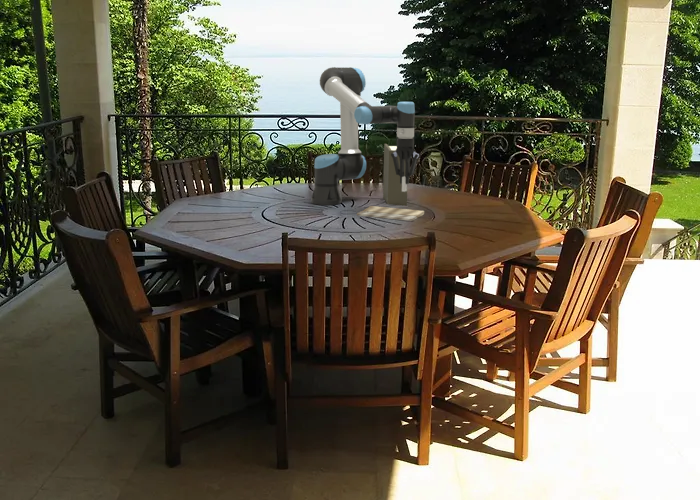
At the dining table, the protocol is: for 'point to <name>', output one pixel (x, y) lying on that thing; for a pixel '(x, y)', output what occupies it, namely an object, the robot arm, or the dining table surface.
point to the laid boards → (387, 215)
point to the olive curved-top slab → (392, 179)
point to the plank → (395, 211)
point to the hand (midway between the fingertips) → (404, 191)
